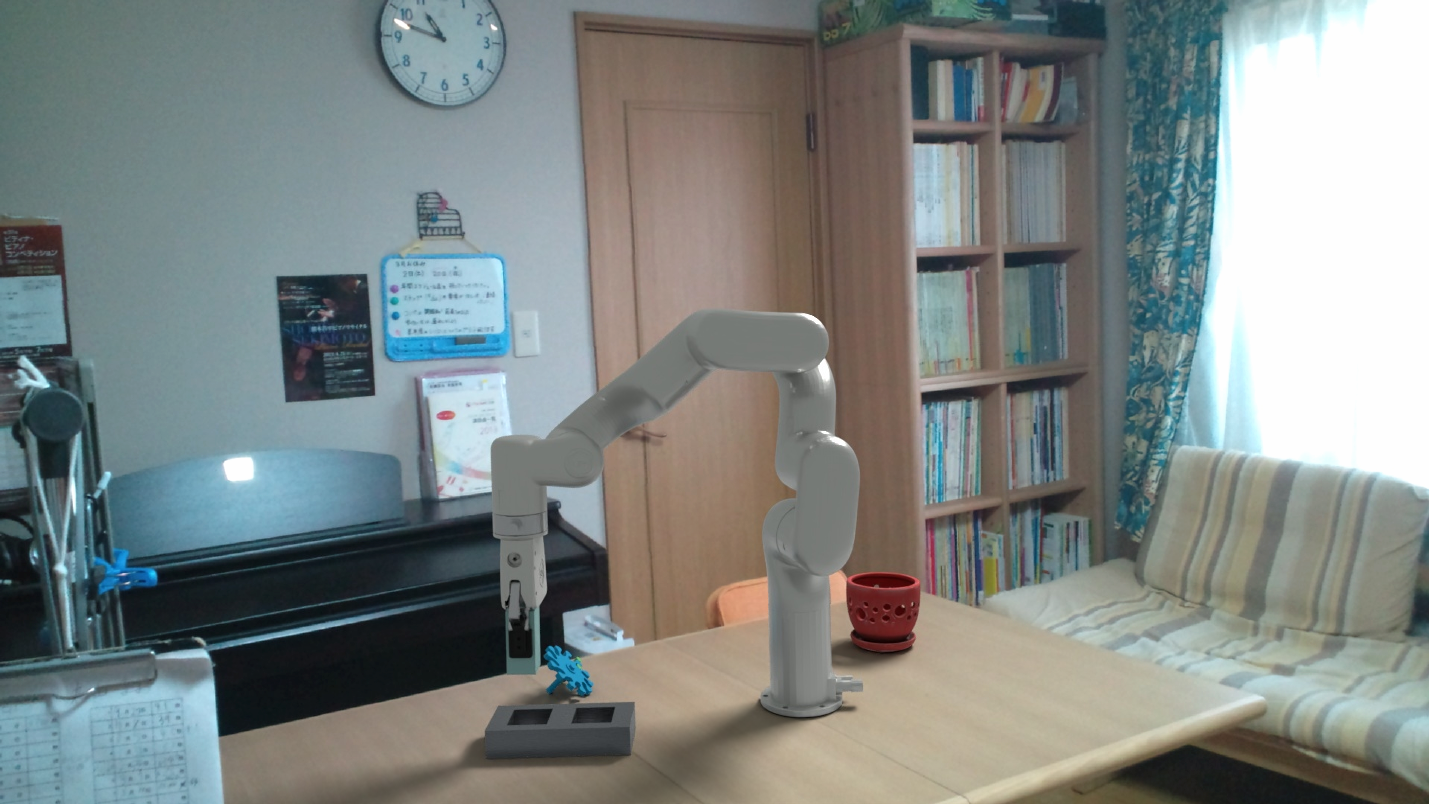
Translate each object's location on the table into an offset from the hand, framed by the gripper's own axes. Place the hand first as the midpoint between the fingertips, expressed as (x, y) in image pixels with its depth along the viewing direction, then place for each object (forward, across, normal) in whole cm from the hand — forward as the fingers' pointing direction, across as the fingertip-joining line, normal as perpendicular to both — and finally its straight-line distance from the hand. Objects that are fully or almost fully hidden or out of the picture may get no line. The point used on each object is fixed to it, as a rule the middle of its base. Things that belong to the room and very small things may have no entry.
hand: (524, 650), depth 145 cm
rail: (+14, 0, -5) cm, 15 cm away
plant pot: (+13, +39, -57) cm, 70 cm away
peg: (+3, 0, 0) cm, 3 cm away
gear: (+14, +20, -3) cm, 25 cm away
